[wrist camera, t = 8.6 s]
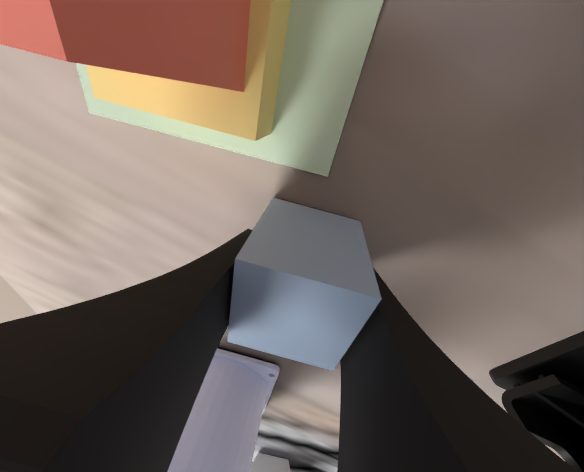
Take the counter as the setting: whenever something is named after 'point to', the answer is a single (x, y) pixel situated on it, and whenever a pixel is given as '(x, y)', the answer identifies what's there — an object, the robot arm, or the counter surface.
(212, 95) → the mustard brick
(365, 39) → the baseplate
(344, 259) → the blue brick
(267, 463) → the figurine
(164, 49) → the red brick
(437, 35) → the counter surface
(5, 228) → the counter surface
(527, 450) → the robot arm
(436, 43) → the counter surface
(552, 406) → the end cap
